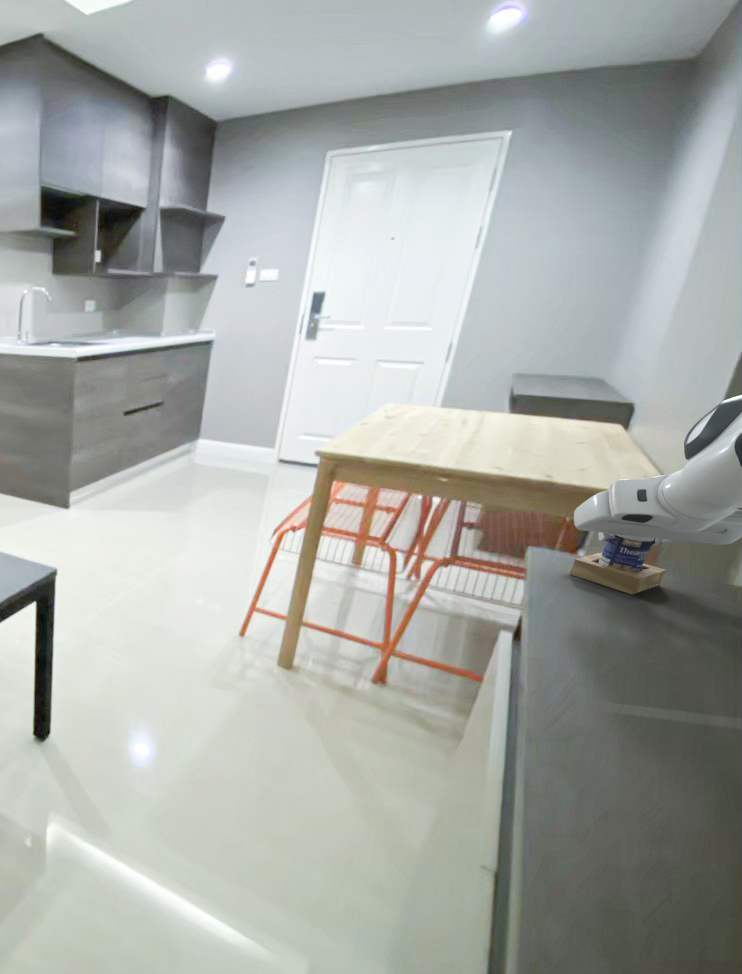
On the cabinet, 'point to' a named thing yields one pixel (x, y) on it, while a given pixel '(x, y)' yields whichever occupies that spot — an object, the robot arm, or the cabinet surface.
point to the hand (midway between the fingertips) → (627, 540)
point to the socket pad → (617, 575)
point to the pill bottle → (626, 552)
